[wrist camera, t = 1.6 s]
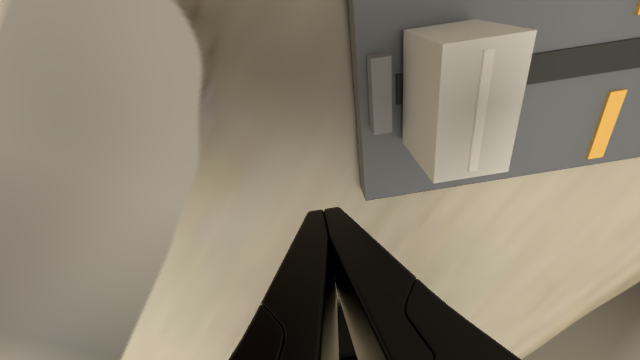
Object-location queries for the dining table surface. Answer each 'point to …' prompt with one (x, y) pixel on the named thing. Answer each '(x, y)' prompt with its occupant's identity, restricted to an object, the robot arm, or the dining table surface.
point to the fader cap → (464, 96)
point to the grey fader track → (540, 92)
